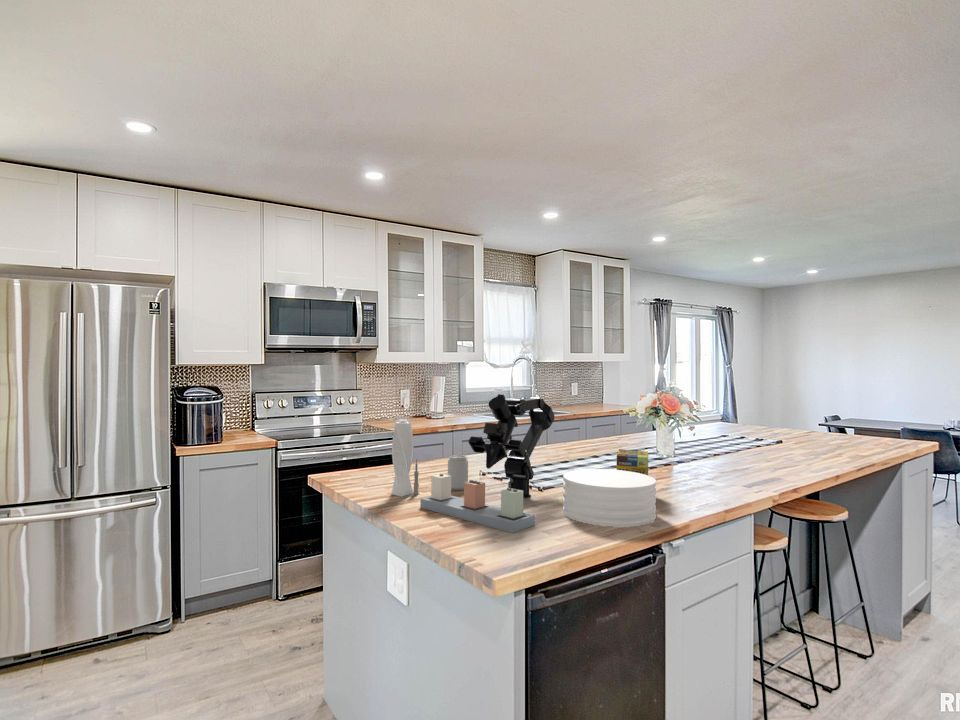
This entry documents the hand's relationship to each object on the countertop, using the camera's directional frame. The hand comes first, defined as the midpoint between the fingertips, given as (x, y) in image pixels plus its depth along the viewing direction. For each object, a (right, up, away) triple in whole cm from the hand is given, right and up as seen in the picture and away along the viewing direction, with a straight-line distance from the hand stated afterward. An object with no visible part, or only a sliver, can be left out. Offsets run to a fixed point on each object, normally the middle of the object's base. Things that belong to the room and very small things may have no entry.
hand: (487, 467), depth 171 cm
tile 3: (-4, -10, -7) cm, 13 cm away
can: (-11, -14, +29) cm, 34 cm away
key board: (-4, -13, -7) cm, 15 cm away
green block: (+7, -10, -17) cm, 21 cm away
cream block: (-15, -10, +3) cm, 18 cm away
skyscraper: (-29, -14, +19) cm, 38 cm away
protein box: (+51, -14, +20) cm, 57 cm away
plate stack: (+38, -14, -2) cm, 40 cm away
